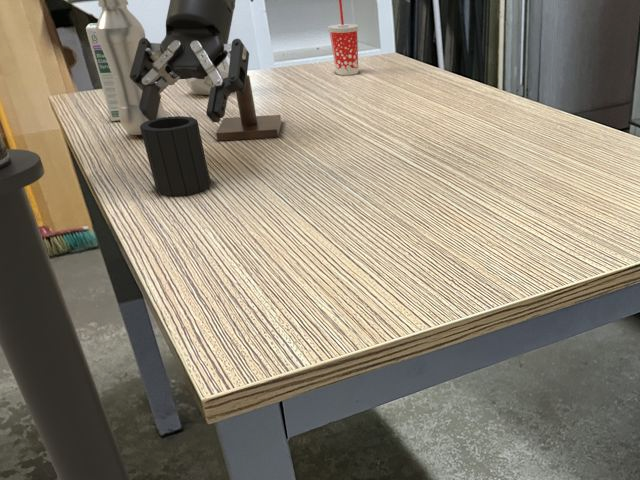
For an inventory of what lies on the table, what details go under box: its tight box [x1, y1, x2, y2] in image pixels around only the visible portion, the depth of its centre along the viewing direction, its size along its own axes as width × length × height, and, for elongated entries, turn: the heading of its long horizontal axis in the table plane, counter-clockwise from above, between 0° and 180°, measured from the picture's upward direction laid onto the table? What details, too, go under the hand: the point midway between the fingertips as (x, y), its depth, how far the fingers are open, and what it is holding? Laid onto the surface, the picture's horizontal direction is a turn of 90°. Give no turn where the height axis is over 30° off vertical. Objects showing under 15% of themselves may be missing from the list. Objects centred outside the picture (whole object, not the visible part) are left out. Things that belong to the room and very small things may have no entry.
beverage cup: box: [327, 0, 359, 76], centre depth 144 cm, size 6×6×14 cm
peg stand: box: [216, 74, 282, 142], centre depth 109 cm, size 9×9×8 cm
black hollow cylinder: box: [140, 115, 212, 197], centre depth 87 cm, size 6×6×8 cm
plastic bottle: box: [96, 0, 167, 136], centre depth 105 cm, size 6×7×20 cm
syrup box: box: [85, 22, 120, 122], centre depth 116 cm, size 6×6×14 cm
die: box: [184, 58, 230, 96], centre depth 132 cm, size 8×9×10 cm
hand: (180, 118), depth 87 cm, fingers open, 8 cm apart
